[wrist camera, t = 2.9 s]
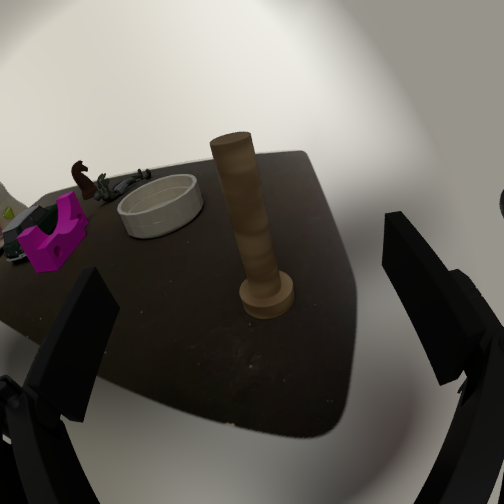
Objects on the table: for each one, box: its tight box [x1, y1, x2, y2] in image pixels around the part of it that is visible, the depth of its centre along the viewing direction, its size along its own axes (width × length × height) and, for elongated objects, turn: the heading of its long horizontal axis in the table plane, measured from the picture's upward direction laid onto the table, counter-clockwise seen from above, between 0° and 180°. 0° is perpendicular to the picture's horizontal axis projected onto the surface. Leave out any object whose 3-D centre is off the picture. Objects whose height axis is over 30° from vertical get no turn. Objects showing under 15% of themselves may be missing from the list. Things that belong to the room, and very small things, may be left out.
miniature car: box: [3, 204, 58, 262], centre depth 51 cm, size 9×18×8 cm, turn 179°
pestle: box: [210, 132, 295, 319], centre depth 23 cm, size 5×5×15 cm
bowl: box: [117, 174, 204, 239], centre depth 45 cm, size 13×13×4 cm
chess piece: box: [71, 161, 98, 199], centre depth 66 cm, size 5×5×10 cm
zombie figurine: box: [94, 169, 151, 201], centre depth 61 cm, size 5×7×15 cm
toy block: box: [17, 191, 89, 273], centre depth 45 cm, size 15×6×8 cm, turn 176°
